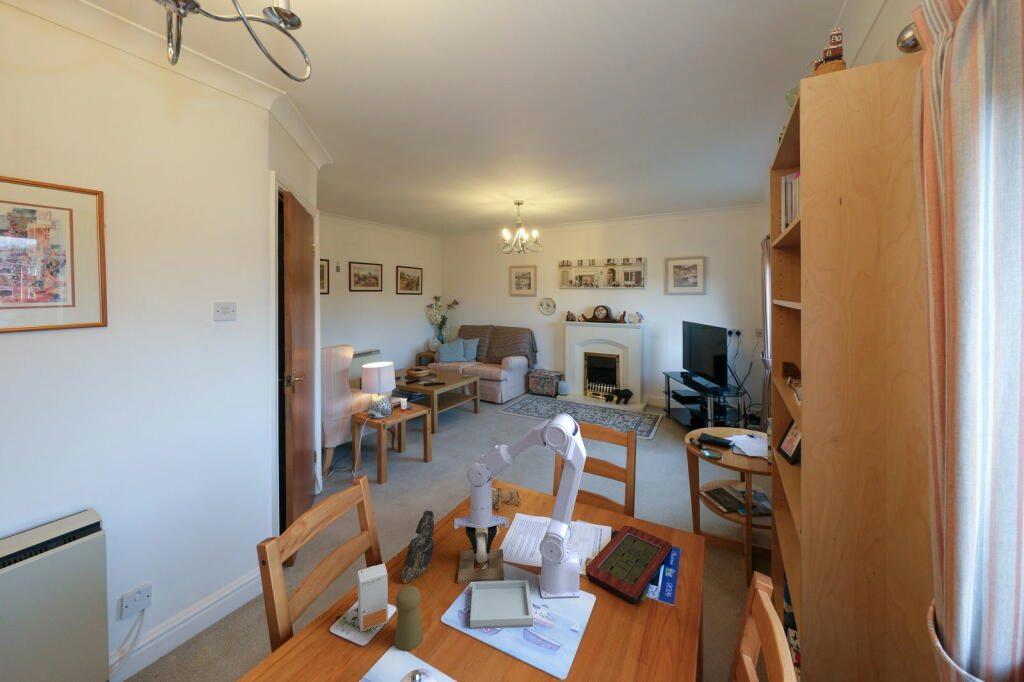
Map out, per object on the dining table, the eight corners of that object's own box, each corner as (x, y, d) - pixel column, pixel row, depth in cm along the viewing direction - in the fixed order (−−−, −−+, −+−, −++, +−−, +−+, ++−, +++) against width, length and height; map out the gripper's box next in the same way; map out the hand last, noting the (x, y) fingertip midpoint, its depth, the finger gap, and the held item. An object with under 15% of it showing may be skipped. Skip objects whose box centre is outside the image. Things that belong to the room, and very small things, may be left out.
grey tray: (528, 587, 99) (528, 580, 99) (532, 626, 87) (533, 618, 87) (472, 589, 98) (472, 581, 98) (470, 628, 86) (470, 620, 86)
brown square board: (502, 552, 112) (502, 549, 112) (504, 582, 100) (504, 578, 100) (461, 554, 112) (461, 550, 112) (457, 584, 100) (457, 579, 100)
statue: (394, 581, 101) (393, 526, 99) (425, 555, 111) (424, 505, 110) (411, 588, 98) (410, 532, 97) (440, 561, 109) (440, 510, 107)
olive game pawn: (415, 653, 80) (414, 604, 79) (389, 648, 81) (387, 599, 80) (427, 629, 86) (427, 583, 85) (402, 625, 87) (401, 579, 86)
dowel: (487, 555, 107) (487, 531, 107) (487, 562, 104) (487, 538, 104) (476, 555, 107) (476, 531, 107) (476, 563, 104) (475, 538, 104)
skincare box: (360, 633, 85) (358, 582, 84) (358, 619, 88) (356, 570, 87) (389, 623, 87) (387, 573, 86) (385, 610, 91) (384, 562, 90)
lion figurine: (491, 518, 131) (491, 492, 130) (482, 511, 135) (482, 486, 134) (525, 504, 140) (525, 480, 139) (516, 498, 144) (516, 475, 143)
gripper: (507, 495, 109) (507, 541, 110) (455, 497, 108) (456, 543, 109) (508, 509, 102) (508, 557, 103) (453, 510, 101) (453, 559, 102)
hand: (481, 551), depth 106 cm, fingers closed on dowel, 3 cm apart
